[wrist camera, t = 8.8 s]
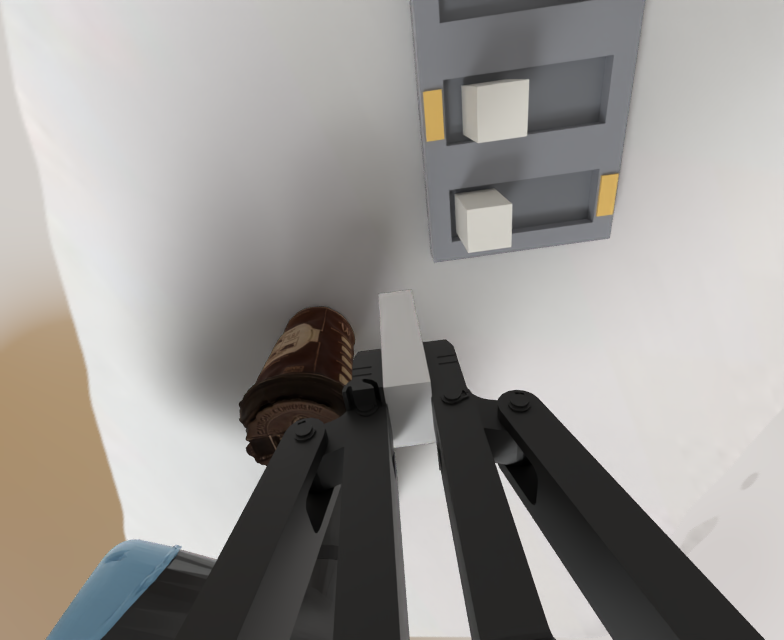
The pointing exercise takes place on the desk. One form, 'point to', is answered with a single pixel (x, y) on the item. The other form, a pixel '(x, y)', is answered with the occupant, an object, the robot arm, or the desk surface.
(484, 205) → the tab
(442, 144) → the switch board
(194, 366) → the desk surface
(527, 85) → the tab
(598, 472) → the robot arm
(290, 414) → the coffee cup
